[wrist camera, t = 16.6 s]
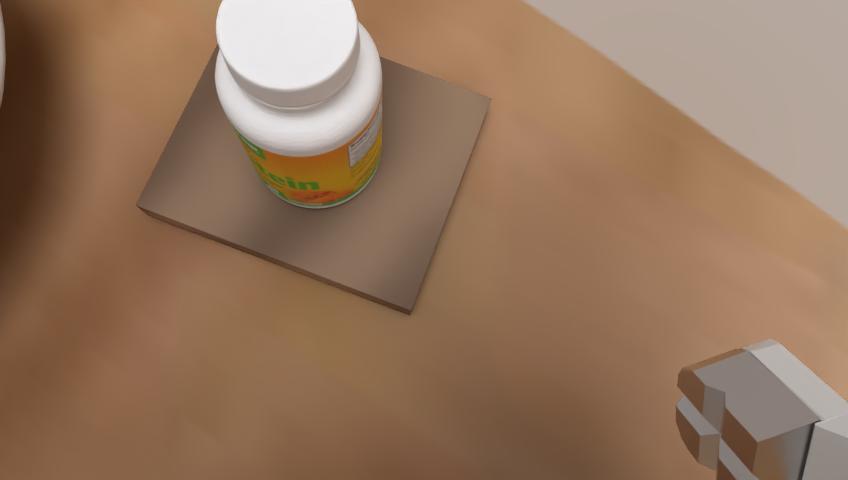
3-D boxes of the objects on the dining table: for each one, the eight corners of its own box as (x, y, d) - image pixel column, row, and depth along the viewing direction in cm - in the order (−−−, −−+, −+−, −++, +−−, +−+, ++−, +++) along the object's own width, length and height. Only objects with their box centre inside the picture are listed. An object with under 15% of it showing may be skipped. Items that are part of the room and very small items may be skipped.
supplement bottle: (228, 174, 27) (149, 57, 18) (294, 70, 29) (252, -90, 19) (343, 233, 27) (323, 147, 18) (404, 126, 28) (415, -8, 19)
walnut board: (148, 215, 28) (135, 205, 27) (244, 22, 31) (238, 3, 29) (409, 314, 28) (411, 310, 27) (486, 112, 30) (491, 98, 29)
